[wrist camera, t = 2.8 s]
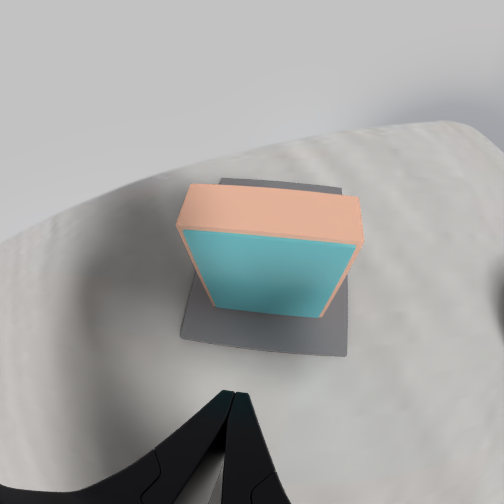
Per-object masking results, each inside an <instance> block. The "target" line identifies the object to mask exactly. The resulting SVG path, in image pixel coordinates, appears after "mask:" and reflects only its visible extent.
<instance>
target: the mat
mask: <svg viewBox="0 0 504 504" xmlns="http://www.w3.org/2000/svg"><path fill="white" fill-rule="evenodd" d="M220 185H236V186H252V187H266V188H279V189H290V190H301V191H311V192H320V193H329V194H338V195H342V189H341V188H337V187H329V186H320V185H311V184H301V183H290V182H279V181H266V180H251V179H233V178H222V179H221V182H220ZM347 328H348V283H347V275H346V277H345V279H344V280H343V282H342V284H341V286H340V287H339V289H338V291H337V293H336V294H335V296H334V298H333V299H332V301H331V303H330V305H329V306H328V308H327V310H326V311H325V313H324V314H323V316H322V318H321V317H319V318H312V317H300V316H289V315H279V314H269V313H259V312H250V311H242V310H234V309H226V308H218V307H216V306H213V305H212V303H211V301H210V298H209V296H208V294H207V292H206V290H205V288H204V286H203V284H202V282H201V280H200V278H199V275H198V273H197V271H196V272H195V276H194V280H193V284H192V288H191V292H190V296H189V300H188V304H187V309H186V313H185V317H184V322H183V326H182V331H181V335H180V337H181V338H182V339H188V340H193V341H199V342H205V343H211V344H217V345H224V346H230V347H238V348H245V349H253V350H262V351H271V352H281V353H292V354H305V355H320V356H341V357H345V356H346V355H347Z"/></svg>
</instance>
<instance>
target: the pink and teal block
mask: <svg viewBox="0 0 504 504" xmlns="http://www.w3.org/2000/svg"><path fill="white" fill-rule="evenodd" d="M176 227H177V229H178V231H179V234H180V236H181V238H182V240H183V243H184V245H185V247H186V249H187V252H188V254H189V256H190V258H191V260H192V263H193V265H194V267H195V269H196V271H197V273H198V275H199V278H200V280H201V282H202V284H203V286H204V288H205V290H206V292H207V294H208V296H209V298H210V301H211V303H212V305H213V306H216V307H218V308H226V309H234V310H242V311H250V312H259V313H269V314H279V315H289V316H300V317H312V318H319V317H321V318H322V316H323V314H324V313H325V311H326V310H327V308H328V306H329V305H330V303H331V301H332V299H333V298H334V296H335V294H336V293H337V291H338V289H339V287H340V286H341V284H342V282H343V280H344V279H345V277H346V275H347V273H348V271H349V270H350V268H351V266H352V264H353V262H354V260H355V259H356V257H357V255H358V253H359V251H360V249H361V247H362V245H363V243H364V234H363V225H362V217H361V209H360V202H359V197H353V196H346V195H338V194H329V193H320V192H311V191H301V190H290V189H279V188H266V187H252V186H236V185H216V184H190V187H189V190H188V192H187V195H186V198H185V200H184V203H183V206H182V208H181V211H180V214H179V217H178V219H177V222H176Z"/></svg>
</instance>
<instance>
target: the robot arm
mask: <svg viewBox="0 0 504 504" xmlns="http://www.w3.org/2000/svg"><path fill="white" fill-rule="evenodd" d="M154 449H155V450H154ZM154 449H152V450H151V451H150V452H149V453H147V454H146V455H145V456H143V457H142V458H140V459H139V460H138V461H136V462H135V463H133V464H132V465H130V466H128V467H127V468H125V469H123V470H121V471H120V472H118V473H116V474H114V475H112V476H110V477H108V478H106V479H104V480H102V481H100V482H98V483H96V484H94V485H91V486H89V487H87V488H85V489H82V490H78V491H73V492H45V491H32V490H23V489H15V488H10V487H6V486H3V485H1V484H0V504H208V503H209V500H210V498H211V495H212V492H213V490H214V487H215V484H216V482H217V479H218V476H219V473H220V471H221V468H222V465H223V462H224V469H223V483H222V498H221V504H291V502H290V501H289V499H288V497H287V495H286V493H285V491H284V489H283V487H282V484H281V482H280V480H279V477H278V475H277V472H275V471H276V470H275V467H274V464H273V462H272V459H271V456H270V454H269V451H268V448H267V445H266V443H265V440H264V437H263V434H262V431H261V428H260V426H259V423H258V420H257V417H256V414H255V411H254V408H253V405H252V402H251V399H250V396H249V394H248V393H242V392H236V393H235V392H234V391H227V390H222V391H221V392H220V393H219V394H217V395H216V396H215V397H214V398H213V399H212V400H211V401H210V402H209V403H207V404H206V405H205V406H204V407H203V408H202V409H201V410H200V411H198V412H197V413H196V414H195V415H194V416H193V417H192V418H190V419H189V420H188V421H187V422H186V423H185V424H183V425H182V426H181V427H180V428H179V429H177V430H176V431H175V432H174V433H173V434H171V435H170V436H169V437H168V438H166V439H165V440H164V441H163V442H161V443H160V444H159V445H158V446H156V447H155V448H154Z"/></svg>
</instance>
